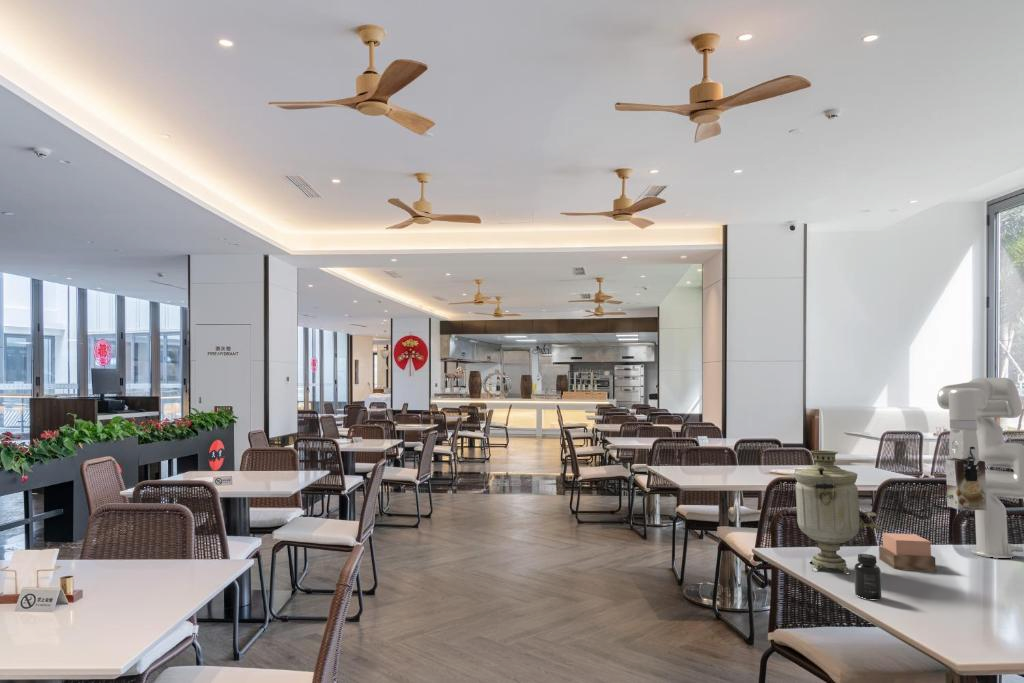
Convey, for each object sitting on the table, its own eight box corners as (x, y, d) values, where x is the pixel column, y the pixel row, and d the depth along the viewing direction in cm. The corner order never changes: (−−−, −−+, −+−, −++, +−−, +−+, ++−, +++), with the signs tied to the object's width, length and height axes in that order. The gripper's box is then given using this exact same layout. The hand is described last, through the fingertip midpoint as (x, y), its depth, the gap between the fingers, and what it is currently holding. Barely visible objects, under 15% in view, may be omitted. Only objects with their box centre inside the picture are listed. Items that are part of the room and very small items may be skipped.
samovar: (868, 588, 196) (865, 458, 199) (782, 571, 214) (779, 452, 217) (891, 569, 218) (887, 452, 221) (811, 555, 236) (808, 446, 238)
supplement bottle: (886, 598, 187) (884, 556, 188) (873, 602, 184) (872, 559, 184) (863, 591, 193) (861, 551, 194) (850, 595, 189) (849, 554, 190)
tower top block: (915, 548, 229) (915, 534, 229) (931, 556, 218) (930, 541, 218) (883, 547, 230) (882, 533, 231) (896, 554, 220) (896, 540, 220)
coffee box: (958, 510, 209) (955, 460, 210) (946, 506, 215) (944, 458, 216) (987, 510, 208) (985, 461, 209) (975, 506, 214) (973, 458, 215)
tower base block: (918, 562, 229) (917, 548, 229) (935, 572, 216) (935, 557, 217) (879, 560, 231) (878, 546, 232) (894, 570, 219) (893, 555, 219)
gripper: (938, 423, 222) (940, 475, 221) (964, 427, 205) (966, 483, 204) (962, 424, 221) (964, 476, 220) (990, 427, 204) (992, 483, 203)
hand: (965, 478), depth 212 cm, fingers closed on coffee box, 6 cm apart
